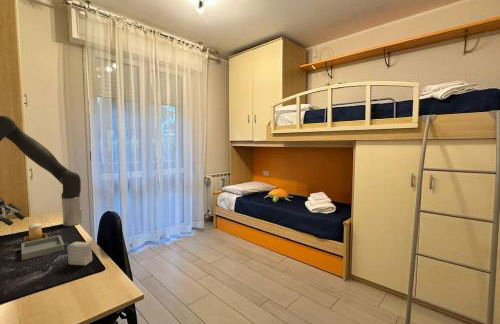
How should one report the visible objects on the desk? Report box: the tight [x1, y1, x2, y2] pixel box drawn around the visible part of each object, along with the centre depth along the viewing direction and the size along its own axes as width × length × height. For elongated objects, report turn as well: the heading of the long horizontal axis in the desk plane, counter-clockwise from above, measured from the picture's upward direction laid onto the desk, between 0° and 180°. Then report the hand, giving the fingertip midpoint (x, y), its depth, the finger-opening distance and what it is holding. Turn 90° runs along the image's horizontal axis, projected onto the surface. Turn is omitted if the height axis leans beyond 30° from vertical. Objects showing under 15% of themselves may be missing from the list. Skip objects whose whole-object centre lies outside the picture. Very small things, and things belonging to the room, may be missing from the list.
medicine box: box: [66, 241, 93, 266], centre depth 105 cm, size 8×4×9 cm, turn 84°
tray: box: [20, 234, 65, 261], centre depth 117 cm, size 15×15×3 cm
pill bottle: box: [27, 222, 43, 241], centre depth 125 cm, size 5×5×9 cm
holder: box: [23, 232, 49, 243], centre depth 126 cm, size 9×9×2 cm
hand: (17, 221), depth 123 cm, fingers open, 8 cm apart
